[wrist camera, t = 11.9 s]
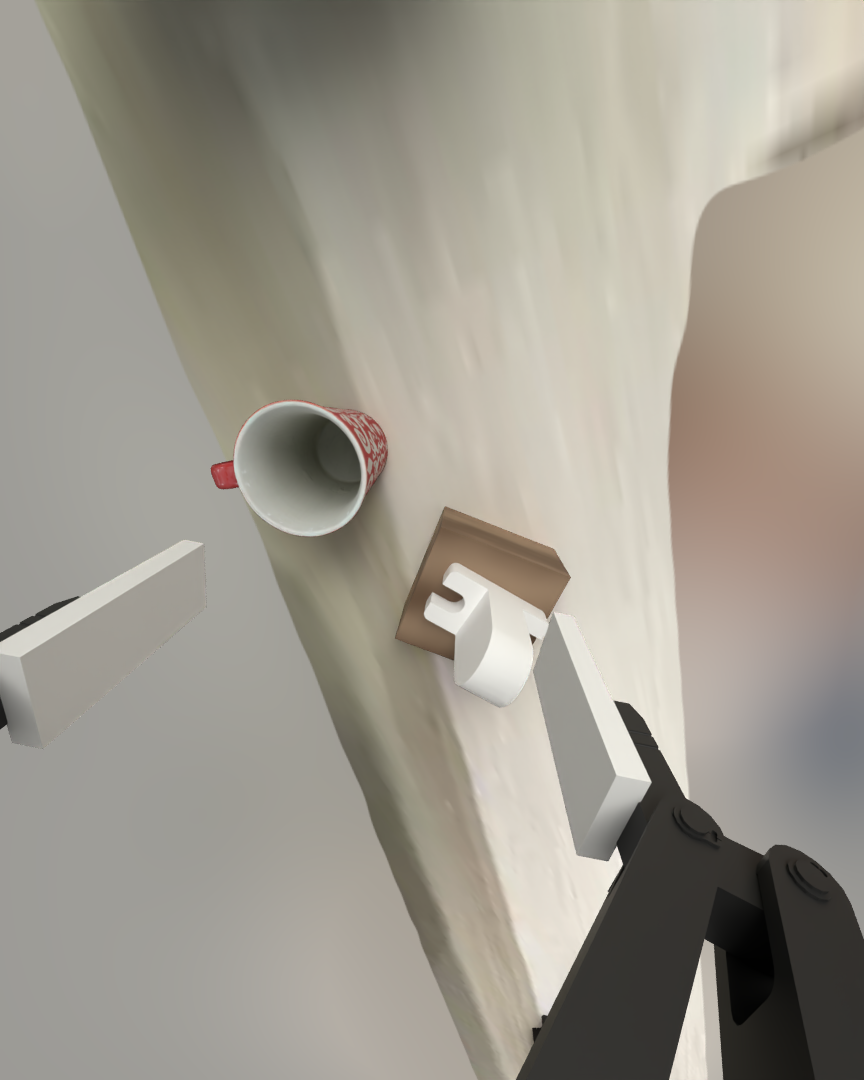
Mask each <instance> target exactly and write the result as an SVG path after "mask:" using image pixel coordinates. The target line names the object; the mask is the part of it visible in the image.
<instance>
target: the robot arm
mask: <svg viewBox="0 0 864 1080" xmlns="http://www.w3.org/2000/svg"><path fill="white" fill-rule="evenodd" d="M205 608H206V579H205V551H204V543H199V542H194V541H189V540H182V541H180V542H179V543H177V544H175V545H173V546H171V547H170V548H168V549H166V550H164V551H163V552H161V553H159V554H157V555H155V556H154V557H152V558H150V559H148V560H146V561H145V562H143V563H141V564H139V565H138V566H136V567H134V568H132V569H130V570H129V571H127V572H125V573H123V574H121V575H120V576H118V577H116V578H114V579H112V580H111V581H109V582H107V583H105V584H104V585H102V586H100V587H98V588H96V589H94V590H93V591H91V592H89V593H87V594H86V595H84V596H82V597H78V596H77V597H74V598H71V599H68V600H65V601H62V602H59V603H56V604H53V605H51V606H50V607H48V608H46V609H44V610H42V611H40V612H38V613H37V614H36V615H35V616H31V617H29V618H27V619H25V620H24V621H22V622H20V624H19V625H14V626H12V627H11V628H9V629H7V630H5V631H3V632H1V633H0V729H1V728H3V727H4V726H5V725H7V727H8V730H9V734H10V737H11V741H12V743H16V744H20V745H25V746H30V747H35V748H40V749H43V748H45V747H46V746H47V745H48V744H49V743H50V742H51V741H53V740H54V739H55V738H56V737H57V736H59V735H60V734H61V733H62V732H63V731H64V730H65V729H67V728H68V727H69V726H70V725H71V724H72V723H74V722H75V721H76V720H77V719H78V718H79V717H80V716H81V715H83V714H84V713H85V712H86V711H87V710H89V709H90V708H91V707H92V706H93V705H94V704H95V703H96V702H98V701H99V700H100V699H101V698H102V697H103V696H105V695H106V694H107V693H108V692H109V691H110V690H111V689H113V688H114V687H115V686H116V685H117V684H118V683H120V682H121V681H122V680H123V679H124V678H125V677H126V676H127V675H129V674H130V673H131V672H132V671H133V670H135V669H136V668H137V667H138V666H139V665H140V664H141V663H143V662H144V661H145V660H146V659H147V658H148V657H149V656H150V655H152V654H153V653H154V652H155V651H156V650H157V649H159V648H160V647H161V646H162V645H163V644H164V643H166V642H167V641H168V640H169V639H170V638H171V637H173V636H174V635H175V634H176V633H177V632H178V631H179V630H181V629H182V628H183V627H184V626H185V625H186V624H187V623H189V622H190V621H191V620H192V619H193V618H194V617H195V616H197V615H198V614H199V613H200V612H201V611H202V610H204V609H205ZM533 673H534V677H535V681H536V685H537V689H538V694H539V698H540V702H541V706H542V711H543V715H544V719H545V723H546V727H547V732H548V736H549V740H550V744H551V749H552V753H553V757H554V761H555V765H556V770H557V774H558V778H559V782H560V786H561V791H562V795H563V799H564V803H565V808H566V812H567V816H568V820H569V824H570V829H571V833H572V837H573V841H574V846H575V850H576V854H577V855H578V856H583V857H589V858H594V859H599V860H604V861H609V859H610V857H611V855H612V853H613V852H614V850H615V848H616V846H617V847H618V850H619V853H620V856H621V859H622V862H623V866H622V867H621V869H620V871H619V873H618V874H617V876H616V878H615V880H614V881H613V883H612V885H611V887H610V888H609V890H608V892H609V893H608V895H607V897H606V899H605V901H604V903H603V905H602V907H601V909H600V911H599V913H598V915H597V917H596V919H595V921H594V923H593V925H592V927H591V929H590V931H589V933H588V935H587V937H586V939H585V941H584V943H583V945H582V947H581V949H580V951H579V954H578V956H577V958H576V960H575V962H574V964H573V966H572V968H571V970H570V972H569V974H568V976H567V978H566V980H565V982H564V984H563V986H562V988H561V990H560V992H559V994H558V996H557V998H556V1000H555V1002H554V1004H553V1006H552V1008H551V1010H550V1012H549V1014H548V1016H547V1018H546V1020H545V1022H544V1024H543V1026H542V1028H541V1030H540V1032H539V1034H538V1036H537V1038H536V1040H535V1042H534V1044H533V1046H532V1048H531V1050H530V1052H529V1054H528V1056H527V1058H526V1060H525V1062H524V1064H523V1066H522V1068H521V1070H520V1073H519V1075H518V1077H517V1079H516V1080H669V1077H670V1073H671V1069H672V1065H673V1062H674V1058H675V1054H676V1050H677V1046H678V1042H679V1038H680V1034H681V1030H682V1026H683V1022H684V1018H685V1014H686V1010H687V1006H688V1002H689V998H690V994H691V990H692V986H693V982H694V978H695V974H696V970H697V966H698V962H699V958H700V954H701V950H702V946H703V942H704V939H706V940H707V941H709V942H711V943H713V944H714V950H715V951H714V953H715V967H716V981H717V996H718V1009H719V1023H720V1038H721V1053H722V1068H723V1080H864V939H863V936H862V933H861V930H860V928H859V925H858V922H857V919H856V917H855V914H854V911H853V908H852V905H851V903H850V901H849V899H848V897H847V896H846V894H845V892H844V890H843V889H842V887H841V886H840V885H839V884H838V883H837V882H836V881H835V879H834V878H833V877H832V876H831V874H830V873H828V872H827V871H826V870H825V869H824V868H823V867H822V866H820V865H819V864H818V863H817V862H816V861H814V860H813V859H812V858H810V857H808V856H807V855H805V854H804V853H802V852H801V851H798V850H796V849H794V848H791V847H789V846H786V845H775V846H773V847H772V848H770V849H769V850H768V851H767V853H766V854H765V855H761V854H759V853H757V852H755V851H753V850H751V849H749V848H747V847H745V846H743V845H741V844H738V843H736V842H734V841H732V840H730V839H728V838H727V837H725V836H724V835H723V833H722V831H721V829H720V827H719V826H718V825H717V823H716V822H715V821H714V820H713V819H712V817H711V816H710V815H709V814H708V813H706V812H705V811H704V810H703V809H701V808H700V807H699V806H698V805H696V804H694V803H693V802H691V801H689V800H688V799H686V798H685V796H684V794H683V793H682V791H681V789H680V787H679V785H678V783H677V781H676V779H675V777H674V776H673V774H672V772H671V770H670V768H669V766H668V764H667V762H666V760H665V759H664V757H663V755H662V753H661V751H660V750H658V745H657V744H656V742H655V740H654V738H653V737H651V732H650V730H649V728H648V727H647V725H646V723H645V721H644V719H643V718H642V717H641V716H640V715H639V714H638V713H637V711H636V710H635V709H634V708H633V707H632V706H631V705H630V704H628V703H623V702H618V701H613V699H612V697H611V694H610V692H609V690H608V688H607V686H606V684H605V682H604V679H603V677H602V675H601V673H600V671H599V669H598V667H597V664H596V662H595V660H594V658H593V656H592V654H591V652H590V649H589V647H588V645H587V643H586V641H585V639H584V637H583V634H582V632H581V630H580V628H579V626H578V624H577V622H576V619H575V617H574V616H572V615H567V614H562V613H556V612H553V614H552V617H551V620H550V623H549V626H548V629H547V632H546V635H545V638H544V641H543V644H542V647H541V650H540V653H539V655H538V658H537V661H536V664H535V667H534V670H533Z"/></svg>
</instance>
